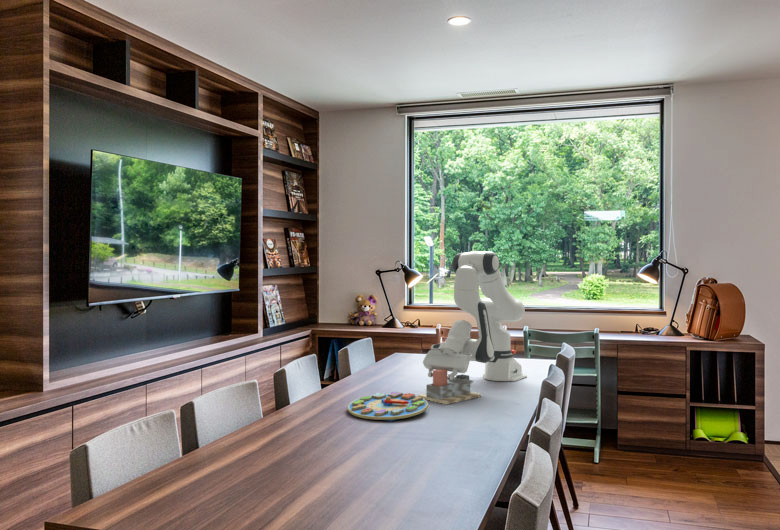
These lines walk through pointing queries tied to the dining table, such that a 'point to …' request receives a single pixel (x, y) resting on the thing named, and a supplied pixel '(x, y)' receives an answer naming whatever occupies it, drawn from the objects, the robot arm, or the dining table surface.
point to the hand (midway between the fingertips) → (439, 377)
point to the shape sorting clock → (388, 406)
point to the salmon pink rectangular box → (440, 377)
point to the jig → (451, 391)
